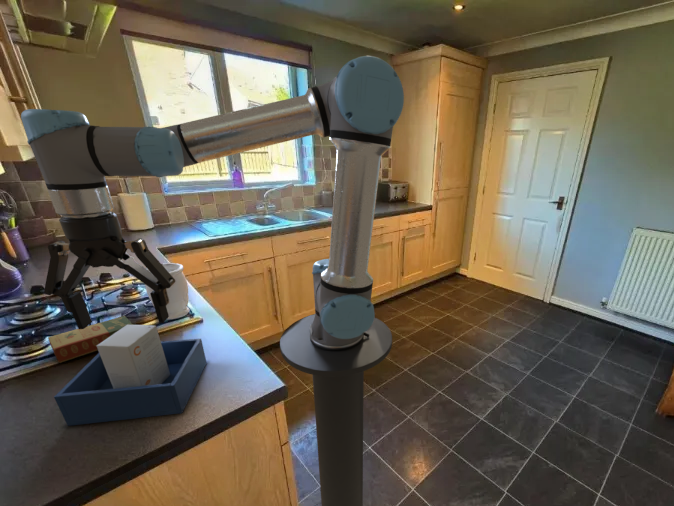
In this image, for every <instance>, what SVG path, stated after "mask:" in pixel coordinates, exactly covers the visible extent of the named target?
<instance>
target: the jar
mask: <svg viewBox="0 0 674 506" xmlns="http://www.w3.org/2000/svg"><path fill="white" fill-rule="evenodd" d="M161 264H162V265H163V267H164V268H165V269H166V270H167V271H168V272H169V273H170V274H171V276H172V277H173V278H174V279H175V283H174V284H173V285H172V286H171V287H170V288H166V290H167V294H168V298H169V303H168V304H167V305H166V308H167V311H168V315H169V317H168V318H167V320H166V321H169V320H176V319H180V318H182V317H184V316H186V315H188V314H189V313H190V307H188V305H189V301H190V300H189V285H188V280H187V278H186V275H185V274H184V269H185V268H184V265H183V264H181V263H176V262H167V263H166V262H165V263H161ZM145 268H146V267H145ZM146 269H147V268H146ZM147 270H148V269H147ZM144 286H145V291H146V294H147V296H148V298H149V300H150V302H151V304H152V306H153V307H154V304H153V301H152V298H151V294H150V293H151V292H152V291H153V289H151V288H150V287H148V286H147V285H146V284H144Z"/></svg>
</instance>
